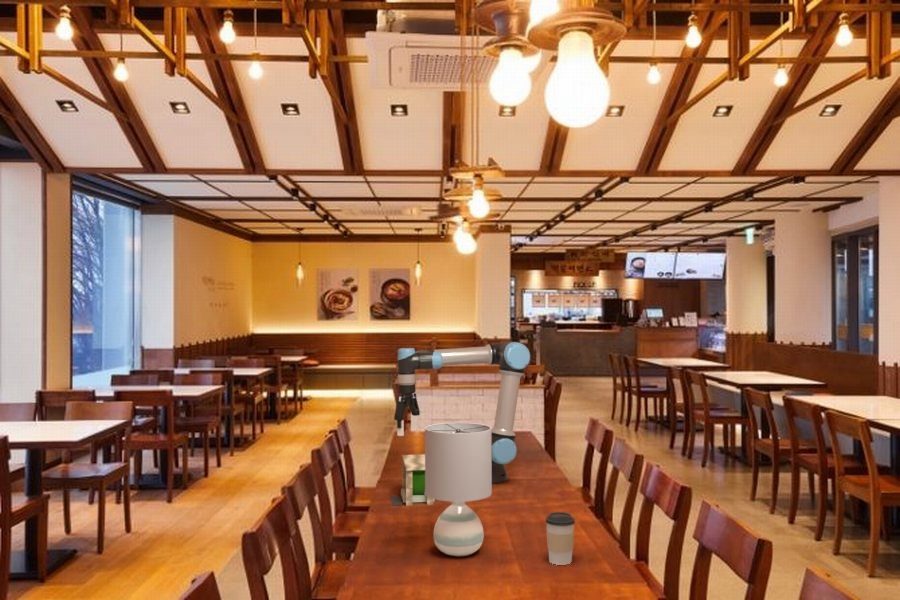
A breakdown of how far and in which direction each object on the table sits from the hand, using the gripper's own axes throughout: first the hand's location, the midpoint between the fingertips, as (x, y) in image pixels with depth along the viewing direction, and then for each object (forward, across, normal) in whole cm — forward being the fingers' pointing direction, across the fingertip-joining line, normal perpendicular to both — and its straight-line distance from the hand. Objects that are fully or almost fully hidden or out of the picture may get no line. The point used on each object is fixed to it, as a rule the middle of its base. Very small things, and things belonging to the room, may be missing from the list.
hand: (407, 433), depth 315 cm
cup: (+26, +8, +8) cm, 28 cm away
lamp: (+26, +64, +49) cm, 85 cm away
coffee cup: (+26, +60, +82) cm, 105 cm away
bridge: (+26, +8, +8) cm, 28 cm away
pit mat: (+26, +14, +1) cm, 29 cm away
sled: (+25, +3, +16) cm, 30 cm away
